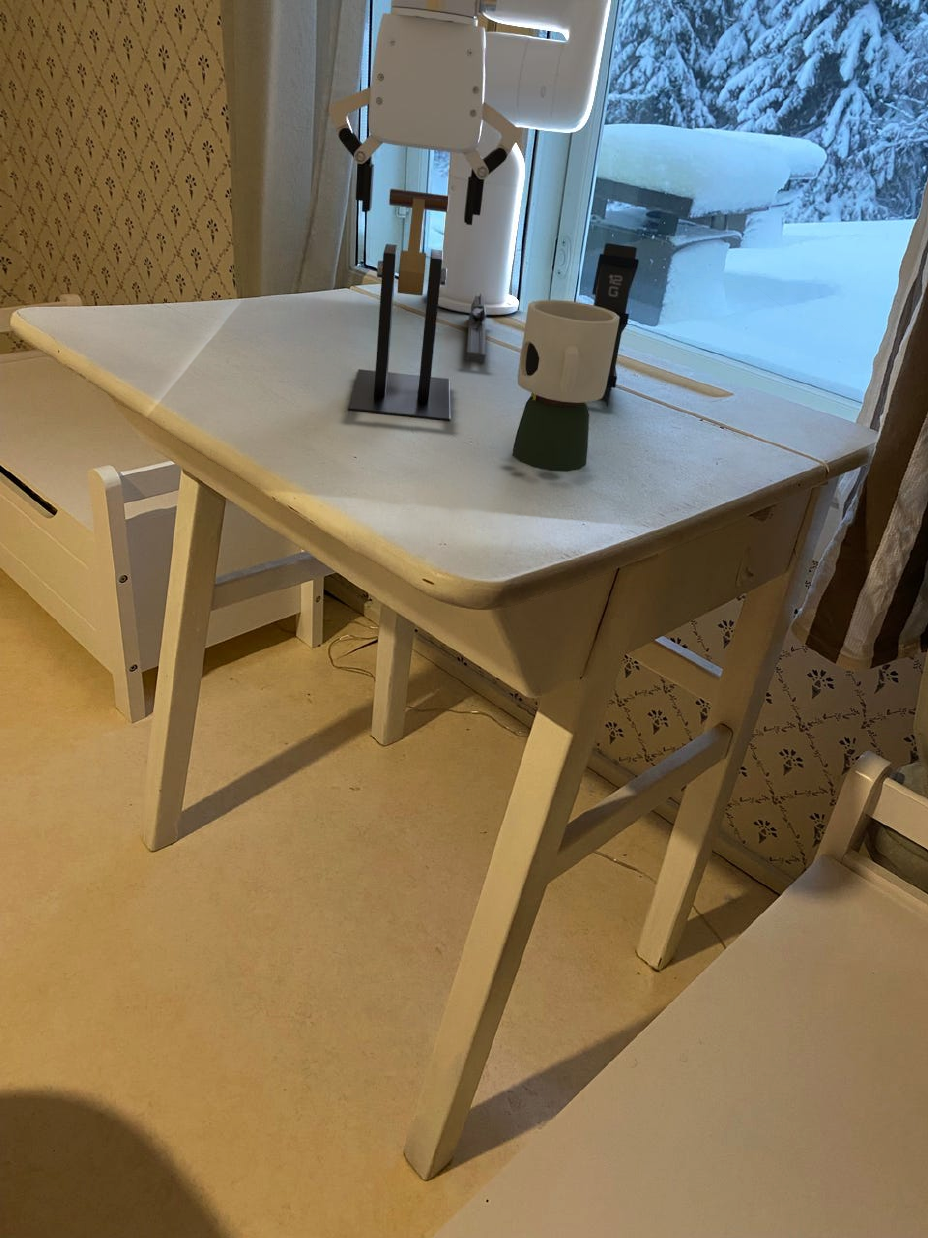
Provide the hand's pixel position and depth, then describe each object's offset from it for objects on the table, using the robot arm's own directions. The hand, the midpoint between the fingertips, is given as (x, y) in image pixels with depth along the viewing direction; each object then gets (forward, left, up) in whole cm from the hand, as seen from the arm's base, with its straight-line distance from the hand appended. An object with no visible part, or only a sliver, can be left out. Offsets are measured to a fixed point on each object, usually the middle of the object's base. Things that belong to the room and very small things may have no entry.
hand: (417, 216), depth 88 cm
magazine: (-2, +20, -15) cm, 25 cm away
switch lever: (+5, 0, -2) cm, 5 cm away
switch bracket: (+10, 0, -15) cm, 18 cm away
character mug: (+22, +13, -15) cm, 30 cm away
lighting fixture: (-13, +8, -16) cm, 22 cm away
